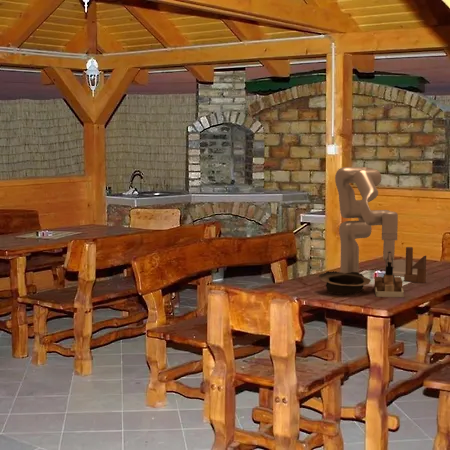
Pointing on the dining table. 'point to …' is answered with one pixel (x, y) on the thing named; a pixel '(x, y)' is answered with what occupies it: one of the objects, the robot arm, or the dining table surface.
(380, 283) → the groove board
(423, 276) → the tan angled rod fixture
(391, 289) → the birch block
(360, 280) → the stone bowl
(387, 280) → the oak block
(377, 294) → the tray
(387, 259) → the square grey bottle
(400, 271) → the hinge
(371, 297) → the dining table surface
